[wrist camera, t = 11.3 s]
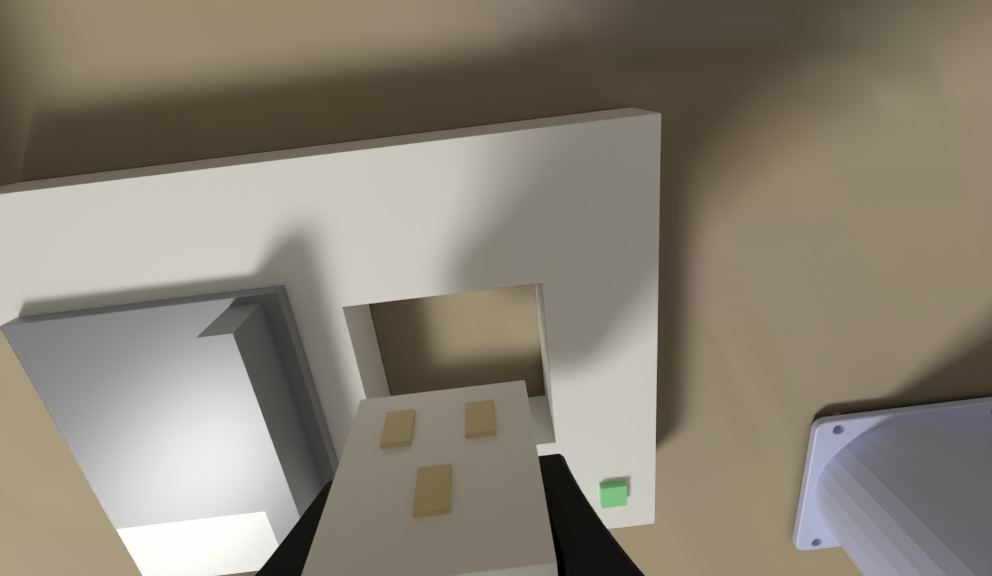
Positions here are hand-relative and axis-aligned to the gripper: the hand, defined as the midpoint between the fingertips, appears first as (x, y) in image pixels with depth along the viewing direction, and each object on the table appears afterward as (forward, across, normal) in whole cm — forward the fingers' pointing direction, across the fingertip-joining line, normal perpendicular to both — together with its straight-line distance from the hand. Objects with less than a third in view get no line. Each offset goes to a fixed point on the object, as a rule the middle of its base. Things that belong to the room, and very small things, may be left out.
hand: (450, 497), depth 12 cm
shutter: (+5, +9, 0) cm, 11 cm away
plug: (+2, 0, 0) cm, 2 cm away
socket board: (+8, +4, 0) cm, 9 cm away
